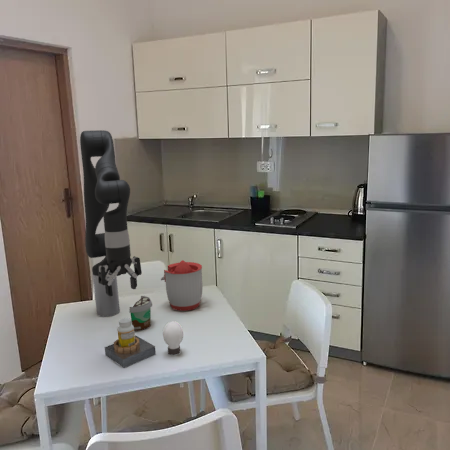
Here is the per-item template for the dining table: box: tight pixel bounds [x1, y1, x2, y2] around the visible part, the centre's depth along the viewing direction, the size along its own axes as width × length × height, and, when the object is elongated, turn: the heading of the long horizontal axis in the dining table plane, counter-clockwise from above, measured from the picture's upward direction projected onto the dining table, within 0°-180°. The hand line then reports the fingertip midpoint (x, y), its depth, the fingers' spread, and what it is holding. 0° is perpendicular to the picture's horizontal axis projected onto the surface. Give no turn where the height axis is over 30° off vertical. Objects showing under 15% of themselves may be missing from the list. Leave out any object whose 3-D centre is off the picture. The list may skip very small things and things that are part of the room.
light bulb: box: [162, 320, 184, 356], centre depth 155 cm, size 7×7×11 cm
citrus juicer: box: [160, 259, 203, 312], centre depth 194 cm, size 16×17×20 cm
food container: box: [128, 295, 153, 332], centre depth 177 cm, size 12×6×10 cm, turn 168°
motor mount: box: [104, 335, 157, 369], centre depth 156 cm, size 12×12×5 cm
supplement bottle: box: [117, 317, 135, 347], centre depth 154 cm, size 5×5×10 cm
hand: (122, 292), depth 152 cm, fingers open, 8 cm apart
